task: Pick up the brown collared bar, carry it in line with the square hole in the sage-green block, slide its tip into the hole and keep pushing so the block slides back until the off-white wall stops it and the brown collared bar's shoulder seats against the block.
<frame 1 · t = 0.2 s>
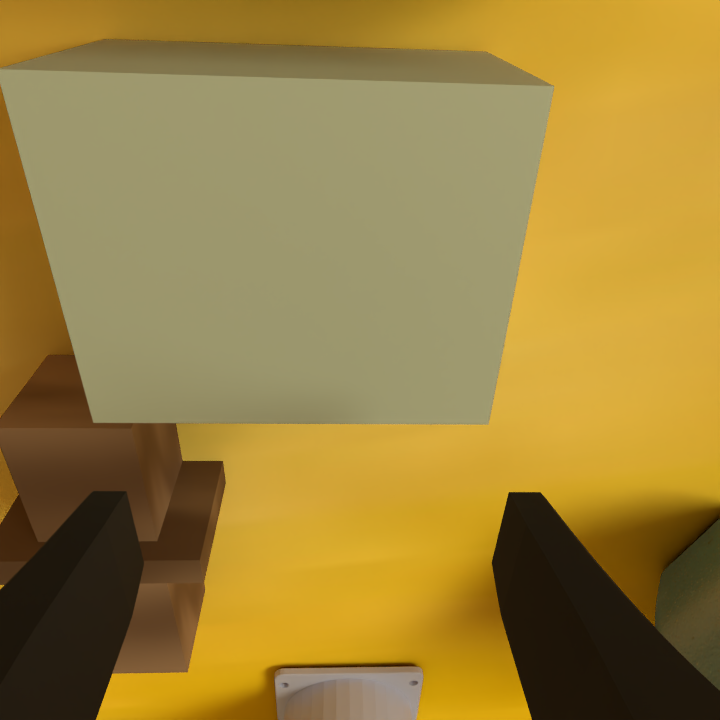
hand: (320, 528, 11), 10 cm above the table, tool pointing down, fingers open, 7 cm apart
brown collared bar: (134, 471, 24), on the table
block: (296, 231, 15), point 3 cm above the table, slide at 0.0 cm
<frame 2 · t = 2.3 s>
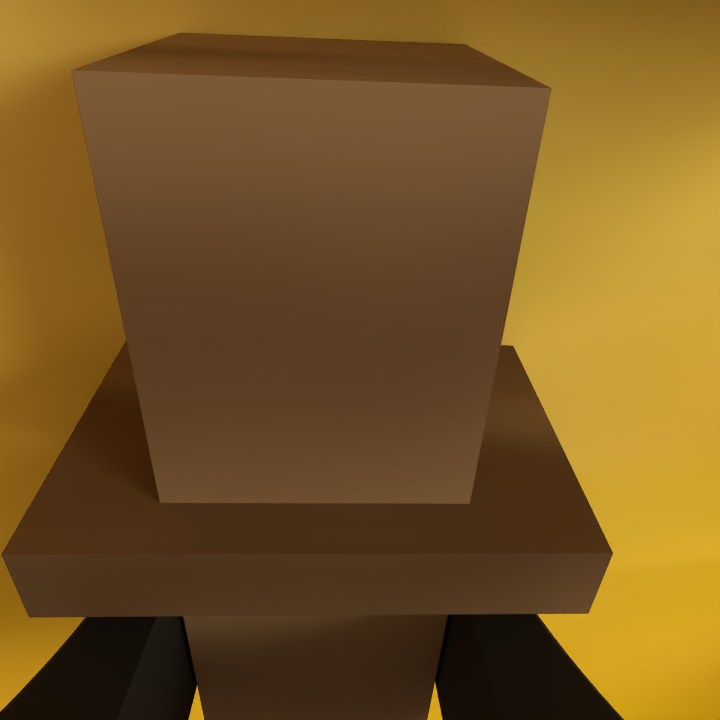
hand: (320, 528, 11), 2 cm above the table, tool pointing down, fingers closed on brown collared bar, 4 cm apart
brown collared bar: (322, 369, 11), on the table, touching gripper
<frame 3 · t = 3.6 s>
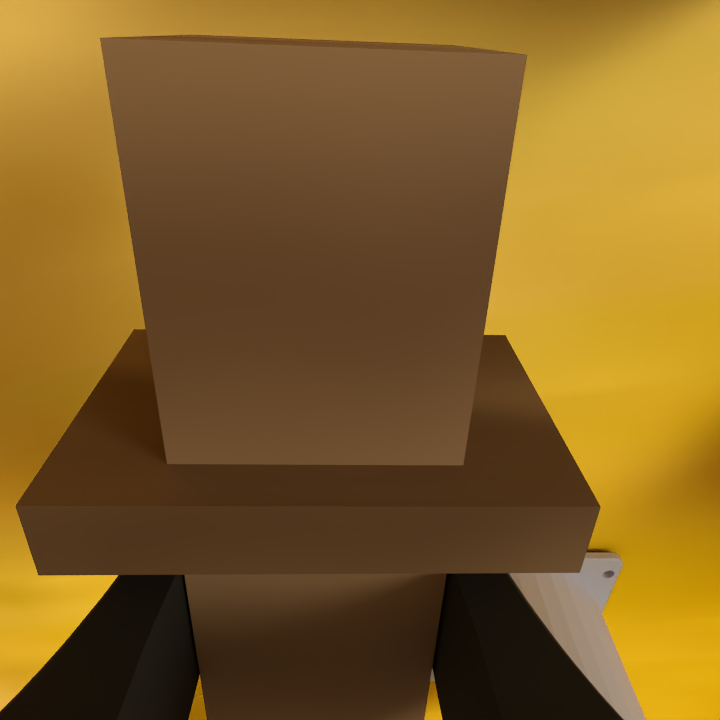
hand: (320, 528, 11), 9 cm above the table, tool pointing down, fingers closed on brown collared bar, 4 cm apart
brown collared bar: (322, 359, 12), point 7 cm above the table, touching gripper
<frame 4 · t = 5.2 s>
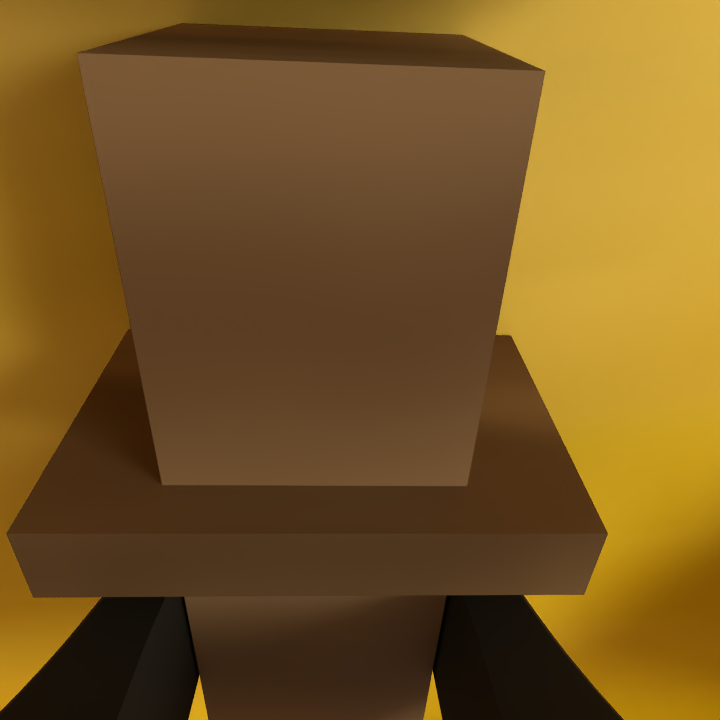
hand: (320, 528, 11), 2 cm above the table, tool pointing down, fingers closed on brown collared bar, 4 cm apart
brown collared bar: (322, 359, 11), on the table, touching gripper
when the fingers open (2 cm above the table, at t = 9.4 s): brown collared bar stays where it is, on the table.
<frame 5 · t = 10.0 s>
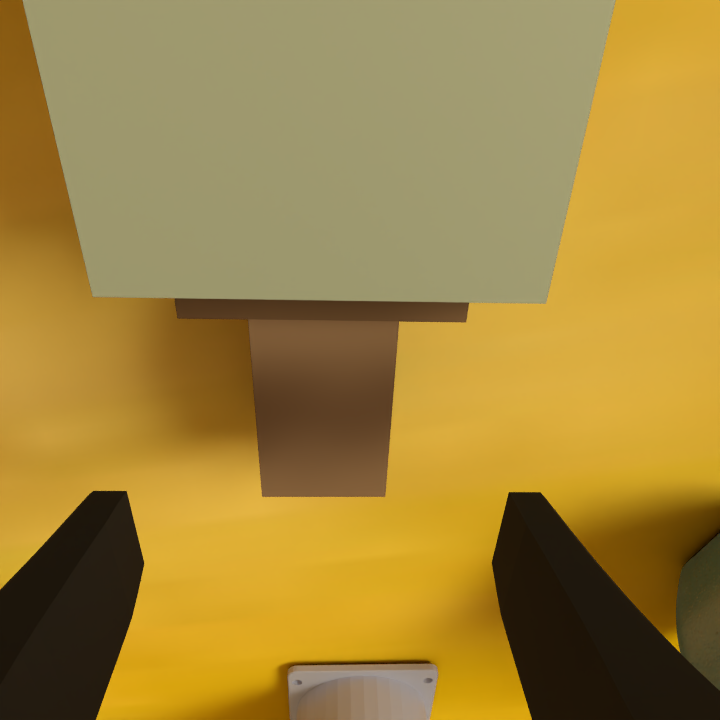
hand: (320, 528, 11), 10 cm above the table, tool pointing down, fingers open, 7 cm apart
brown collared bar: (326, 228, 18), on the table
block: (325, 82, 13), point 3 cm above the table, slide at 3.0 cm, touching wall
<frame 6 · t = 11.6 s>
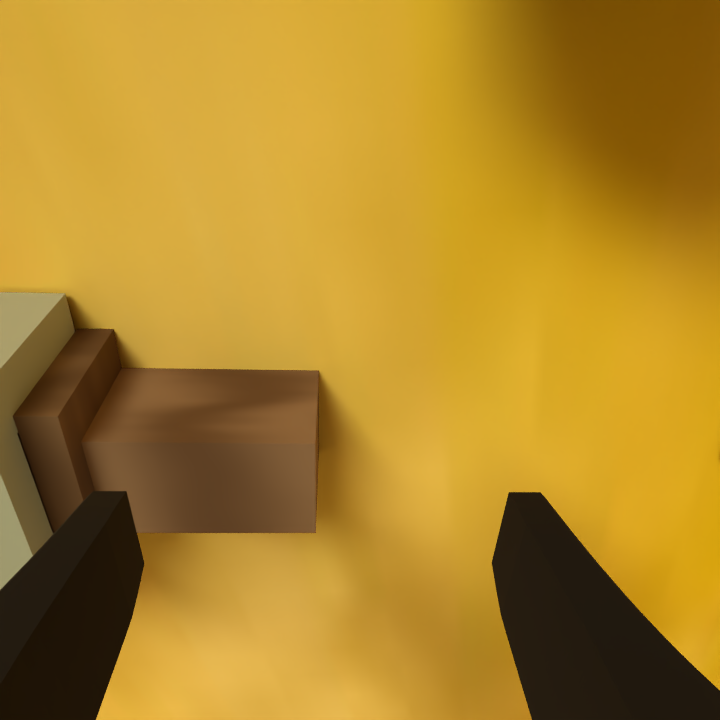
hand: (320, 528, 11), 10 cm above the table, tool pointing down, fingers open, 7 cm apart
brown collared bar: (115, 412, 22), on the table
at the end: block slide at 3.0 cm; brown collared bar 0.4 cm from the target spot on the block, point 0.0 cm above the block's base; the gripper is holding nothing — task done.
